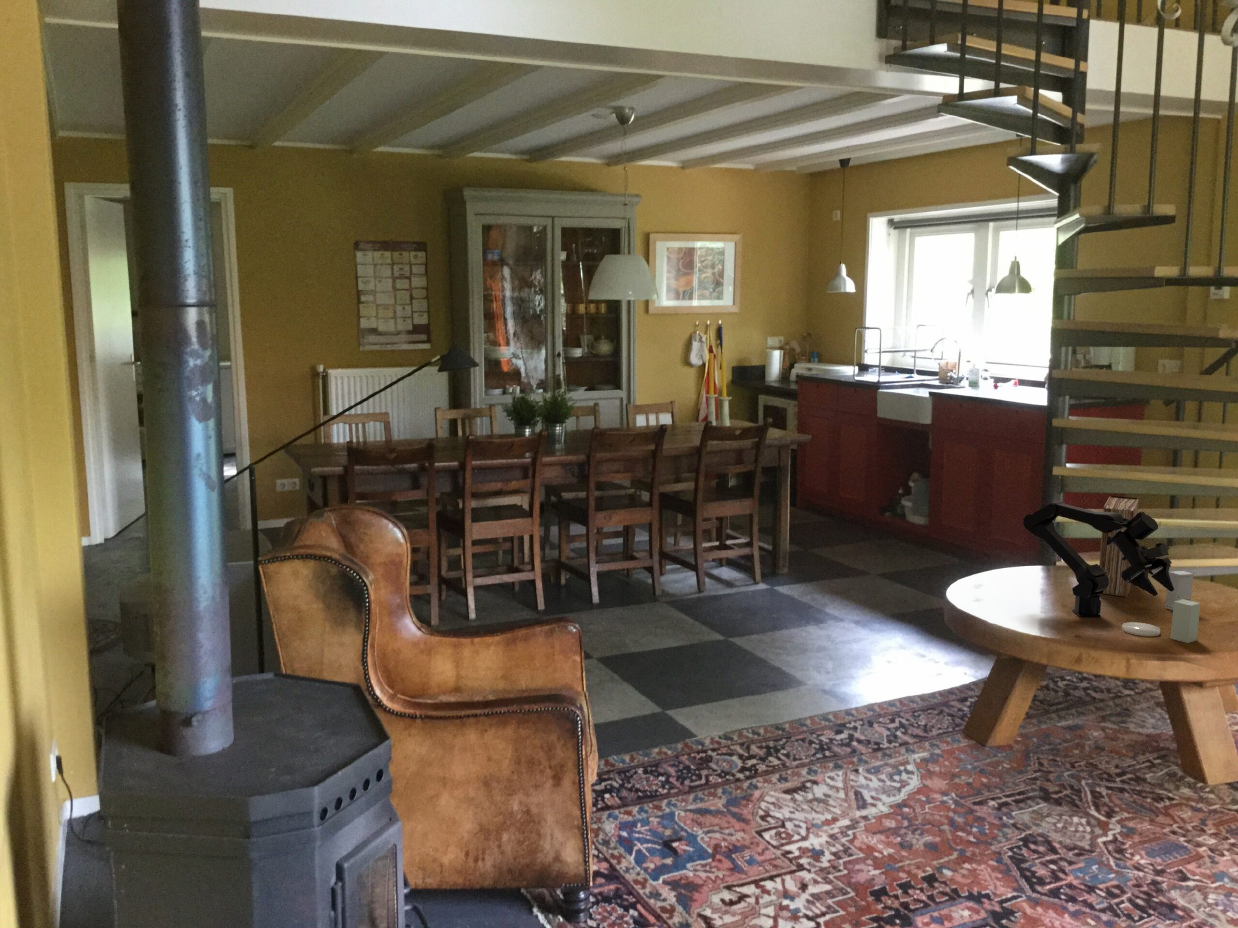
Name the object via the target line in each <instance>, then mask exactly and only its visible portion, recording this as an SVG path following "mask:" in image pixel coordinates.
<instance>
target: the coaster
mask: <svg viewBox="0 0 1238 928" xmlns="http://www.w3.org/2000/svg"><path fill="white" fill-rule="evenodd" d="M1121 630H1122V632H1124V633H1128V634H1130V635H1135V636H1139V637H1140V636H1141V637H1157V636H1159V635H1160V634H1161V629H1160V627H1158V626H1156V625H1153V624H1149V623H1144V622H1137V621H1135V622H1133V621H1132V622H1131V621H1130V622H1124V623H1123V624H1122V626H1121Z"/></svg>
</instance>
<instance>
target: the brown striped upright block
mask: <svg viewBox="0 0 1238 928" xmlns="http://www.w3.org/2000/svg"><path fill="white" fill-rule="evenodd" d="M1139 501H1140V498H1139V497H1128V496H1114V495H1110V496H1109V497H1108V499H1107V500H1106V503H1104V506H1103V512H1114V513H1119V514H1121V515H1122V517H1123V518H1126V519H1129V520H1131V519H1132V518H1134V517H1135V516H1136V514H1138V513H1139V512H1138V511H1139V503H1140V502H1139ZM1126 529H1127V528H1124V529H1122V530H1120V531H1122V532H1123V531H1124V530H1126ZM1117 532H1119V531H1116V532H1111V533H1103V532H1101V539H1100V552H1099V564H1098V565H1099V566H1100V567H1101V569H1102V570H1103V571H1105V572H1107V574H1106V575H1107V576H1108V578H1109V586H1108V587H1107V589H1105V590H1104V592H1103V594H1105V595H1112V596H1119V597H1125V599H1128V596H1129V593H1130V590H1131V586H1132V584H1131V583H1128V582H1129V581H1126V582H1125V581H1124V580H1123V579H1122V577H1121V572H1122V571H1124V570H1125V569H1127V568H1128V567H1129V566H1131V565H1130V564H1129V562H1128V561H1127V560H1126V561H1124V560H1123V559H1122V558H1123V557H1124V556H1123V554H1122V553H1121V552H1120V550H1119V549H1118V548H1117V547H1116V545H1115V544H1112V545H1106V542H1107V536H1113V535H1115V534H1116V533H1117ZM1103 594H1102V595H1103Z"/></svg>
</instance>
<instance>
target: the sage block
mask: <svg viewBox="0 0 1238 928" xmlns="http://www.w3.org/2000/svg"><path fill="white" fill-rule="evenodd" d="M1200 611H1201V603H1200V602H1198V601H1194V600H1193V601H1192V600H1191V601H1189V600H1184V599H1181V600H1178V601H1175V602H1174V606H1173V610H1172V618H1171V619H1172V620H1171V630H1170V639H1171V640H1175V641H1179V642H1183V643H1187V644H1189V643H1192V642H1196V641H1197V640H1198V633H1199V631H1198V630H1199V622H1200Z"/></svg>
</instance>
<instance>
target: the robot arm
mask: <svg viewBox="0 0 1238 928" xmlns="http://www.w3.org/2000/svg"><path fill="white" fill-rule="evenodd" d="M1059 517H1060V518H1065V519H1069V520H1072V521H1076V522H1080V523H1083V524H1087V525H1089V526H1090V527H1092V528H1093V529H1094V530H1097V531H1098V532H1101V533H1102V532H1103V533H1111V532H1116V531H1119V532H1117V533H1116V534H1115V535H1113V536H1107V542H1106V545H1112V544H1115V545H1116V547H1117V548H1118V549H1119V550H1120V552H1121V553H1122V554H1123V556H1124V557H1123V558H1122V559H1123V560H1124V561H1126V560H1127V561H1128V562H1129V564H1130V565H1131V566H1129V567H1128V568H1127V569H1125V570H1124V571H1122V572H1121V577H1122V579H1123V580H1124V581H1125V582H1126V581H1129V582H1128V583H1131V585H1133V586H1135V587H1138V588H1139V589H1141V590H1143V591H1144V592H1147V594H1149V595H1152V596H1153V597H1157V596H1158V595H1159V593H1158V591H1157V589H1156V588H1155V586H1154V584H1153V583H1152V581H1151V580H1150V578H1149V575H1151V578H1152V579H1153V580H1155V581H1156V582H1157V583H1159V584H1160V585H1161V586H1163V587H1164V588H1165V589H1166V590H1167V589H1168V590H1169V591H1171V592H1172V591H1174V587H1173V584H1172V582H1171V579H1170V576H1169V572H1170V568H1171V566H1172V565H1171V564H1172V563H1173V562H1172V561H1171V560H1170V558H1169V557H1168V556H1169V555H1170V553H1169V550H1170V547H1169V546H1168V545H1167V543H1165V542H1163V541H1162V542H1157V543H1155V546H1153V547H1150V548H1148V547H1147V545H1143V546H1142V545H1141V543H1139V540H1140V541H1144V540H1146V539H1147V538H1148V537H1149V536H1151V535H1152V534H1153V533H1154V532H1156V531H1157V530H1158V529H1159V524H1158V522H1157V520H1156V519H1155V518H1152V517H1151V515H1149V514H1146V512H1144V511H1139V512H1138V514H1136V516H1135V517H1134V518H1132V519H1131V520H1129V519H1126V518H1123V517H1122V515H1121V514H1119V513H1114V512H1104V511H1094V510H1091V509H1086V508H1082V507H1080V506H1074V505H1071V504H1067V503H1065V502H1064V503H1063V502H1061V501H1053V502H1049V503H1048V504H1047V505H1045V506H1044V507H1042V508H1040V509H1039V510H1036V511H1034V512H1033V513H1029V514H1026V515H1025V516H1024V517H1023V520H1022V521H1023V522H1022V523H1023V524H1022V526H1023V528H1024V529H1025V530H1026V531H1027V532H1028V533H1030V534H1031V535H1033V536H1034V537H1036V538H1038V539H1041V540H1043V541H1044V542H1045V544H1046V545H1047V546H1048V547H1049V548H1050V549H1051V550H1052V551H1053V552H1054V553H1055V554H1056V555H1057V556H1058V557H1059V558H1060V559H1061V560H1062V561H1063V562H1064V564H1065V565H1066V566H1067V567H1069V569H1070V570H1071V571H1072V572H1073V573H1074V575H1075V579H1076V581H1077V584H1076V585H1074V586H1073V587H1072V588H1071V591H1072V594H1073V596H1075V599H1074V601H1075V602H1074V608H1072V609H1071V611H1072V612H1073V613H1075V614H1076V615H1078V616H1079V617H1091V618H1092V617H1095V618H1096V617H1097V618H1100V617H1102V615H1101V610H1102V607H1101V606H1102V600H1101V595H1103V592H1104V590H1105V589H1107V587H1108V586H1109V578H1108V576H1107V575H1106V574H1107V572H1105V571H1103V570H1102V569H1101V567H1100V566H1099V564H1098V563H1096V564H1089V563H1088V562H1086V560H1085V559H1084V558H1083V557H1082V556H1081V555H1080V554H1079V553H1078V552H1077V551H1076V550H1075V549H1074V548H1073V547H1072V546H1071V545H1070V544H1069V543H1068V542H1067V541H1066V540H1065V539H1064V538H1063V536H1061V535H1060V533H1058V531H1057V530H1056V528H1055V527H1056V526H1055V524H1054V521H1055V520H1057V518H1059ZM1124 528H1127V529H1126V530H1124V531H1123V532H1122V531H1120V530H1122V529H1124Z"/></svg>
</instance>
